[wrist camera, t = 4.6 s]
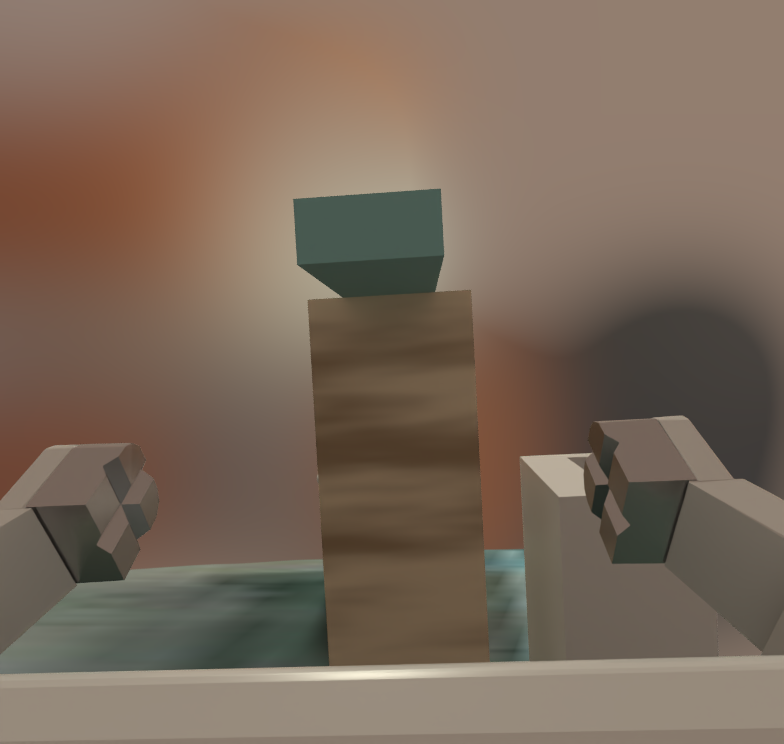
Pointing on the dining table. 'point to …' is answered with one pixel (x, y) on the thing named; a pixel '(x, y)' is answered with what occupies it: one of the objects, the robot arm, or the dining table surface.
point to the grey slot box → (597, 581)
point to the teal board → (372, 241)
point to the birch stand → (399, 478)
